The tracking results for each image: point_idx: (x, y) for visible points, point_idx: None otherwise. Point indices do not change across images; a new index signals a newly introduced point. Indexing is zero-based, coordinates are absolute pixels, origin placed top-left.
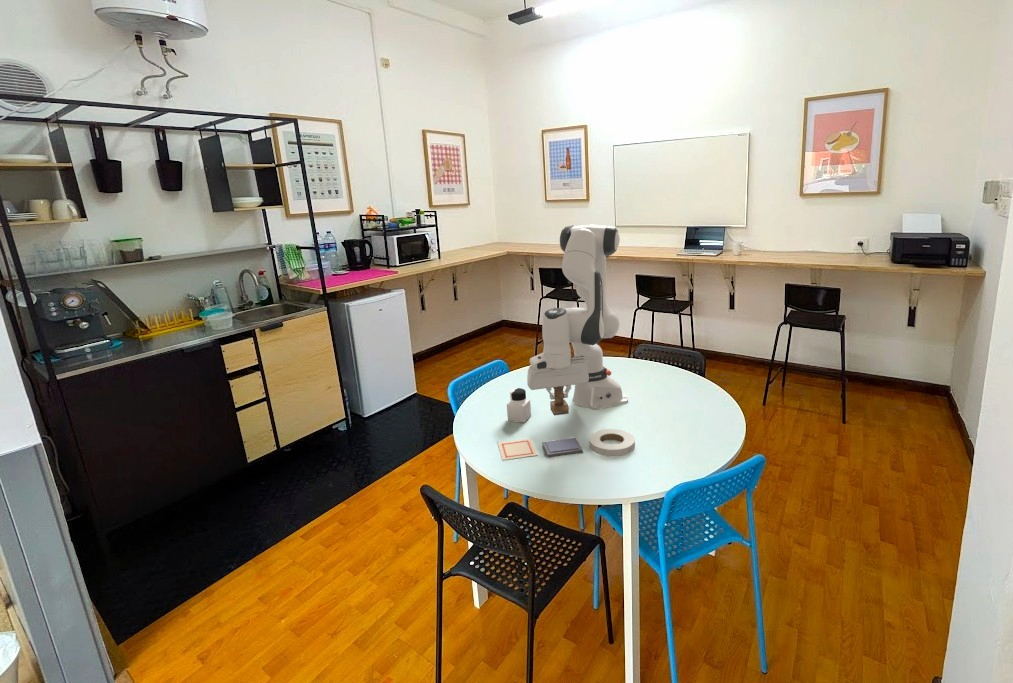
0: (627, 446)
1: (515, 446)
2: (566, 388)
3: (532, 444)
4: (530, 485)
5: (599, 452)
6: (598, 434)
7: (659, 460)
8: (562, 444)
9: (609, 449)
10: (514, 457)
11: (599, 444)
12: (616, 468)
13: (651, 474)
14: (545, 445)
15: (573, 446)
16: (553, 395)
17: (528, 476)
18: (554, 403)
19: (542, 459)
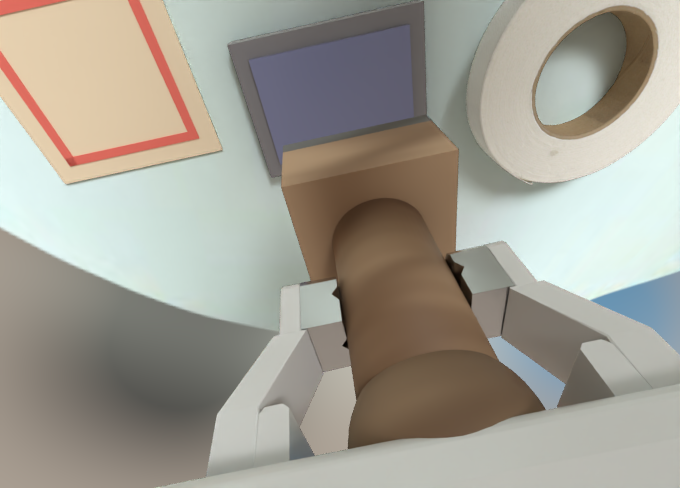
0: (610, 161)
1: (72, 53)
2: (559, 325)
3: (170, 34)
4: (229, 313)
5: (488, 155)
6: (557, 15)
7: (654, 198)
8: (341, 94)
9: (530, 181)
10: (115, 167)
11: (511, 134)
12: (500, 238)
13: (577, 264)
14: (251, 89)
15: (392, 119)
16: (332, 363)
17: (213, 277)
18: (330, 240)
19: (248, 180)
